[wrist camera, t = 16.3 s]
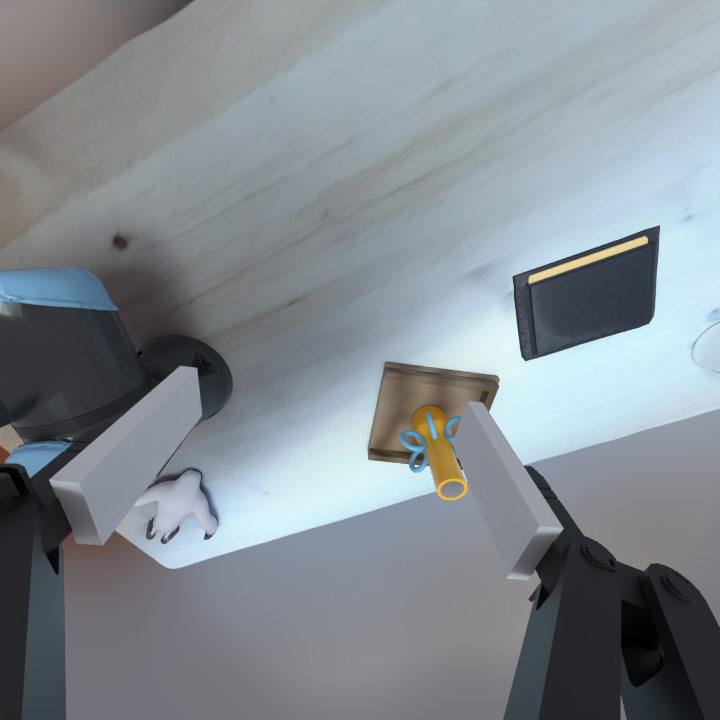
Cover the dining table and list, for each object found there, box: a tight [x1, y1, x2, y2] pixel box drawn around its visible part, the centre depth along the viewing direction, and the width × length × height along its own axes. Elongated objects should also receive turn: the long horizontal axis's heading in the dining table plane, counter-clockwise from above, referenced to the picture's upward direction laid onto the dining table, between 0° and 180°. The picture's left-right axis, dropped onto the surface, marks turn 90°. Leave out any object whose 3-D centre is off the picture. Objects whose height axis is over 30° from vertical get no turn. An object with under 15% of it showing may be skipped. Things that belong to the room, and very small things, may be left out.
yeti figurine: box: [133, 469, 217, 544], centre depth 61 cm, size 20×7×20 cm
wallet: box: [512, 225, 660, 361], centre depth 45 cm, size 20×2×15 cm
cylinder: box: [399, 406, 467, 500], centre depth 46 cm, size 12×10×15 cm
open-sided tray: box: [368, 362, 500, 470], centre depth 53 cm, size 19×19×3 cm
